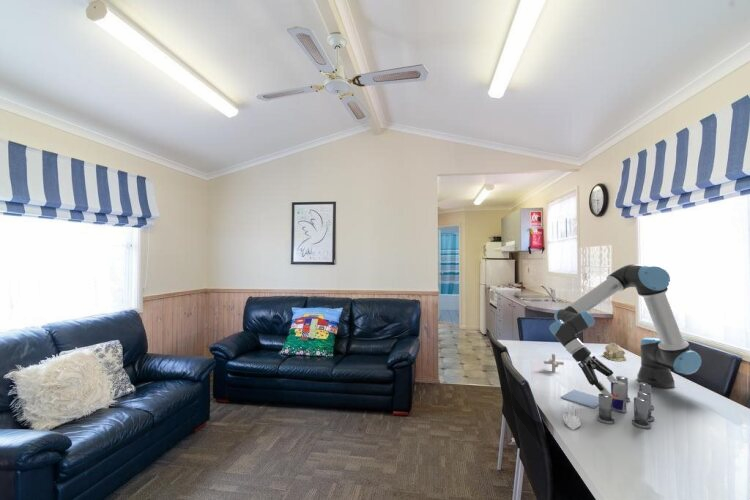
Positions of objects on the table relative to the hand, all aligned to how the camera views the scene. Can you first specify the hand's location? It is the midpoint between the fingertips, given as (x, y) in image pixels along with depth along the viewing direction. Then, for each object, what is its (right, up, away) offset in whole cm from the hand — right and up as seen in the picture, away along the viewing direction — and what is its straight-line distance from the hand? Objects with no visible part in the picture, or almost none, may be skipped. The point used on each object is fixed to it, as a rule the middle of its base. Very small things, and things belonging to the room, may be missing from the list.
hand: (615, 393), depth 147 cm
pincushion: (-26, -7, -11) cm, 29 cm away
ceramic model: (+51, -8, +73) cm, 89 cm away
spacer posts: (+3, -7, -4) cm, 8 cm away
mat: (-8, -7, +11) cm, 15 cm away
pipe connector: (-2, -8, +48) cm, 48 cm away
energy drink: (+1, -7, 0) cm, 7 cm away
